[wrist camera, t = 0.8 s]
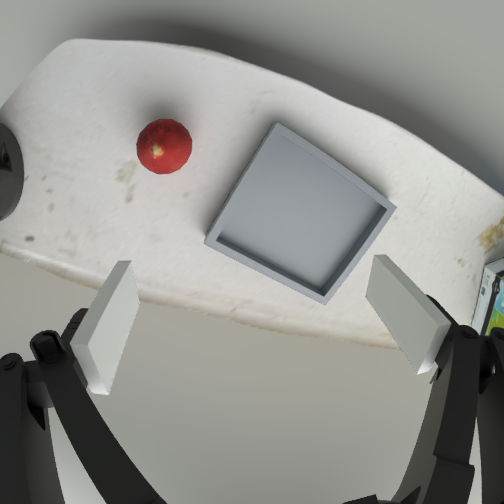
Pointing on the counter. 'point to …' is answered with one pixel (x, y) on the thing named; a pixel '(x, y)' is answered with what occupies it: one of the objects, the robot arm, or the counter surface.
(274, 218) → the tray
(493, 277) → the tea box
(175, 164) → the onion
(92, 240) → the counter surface
